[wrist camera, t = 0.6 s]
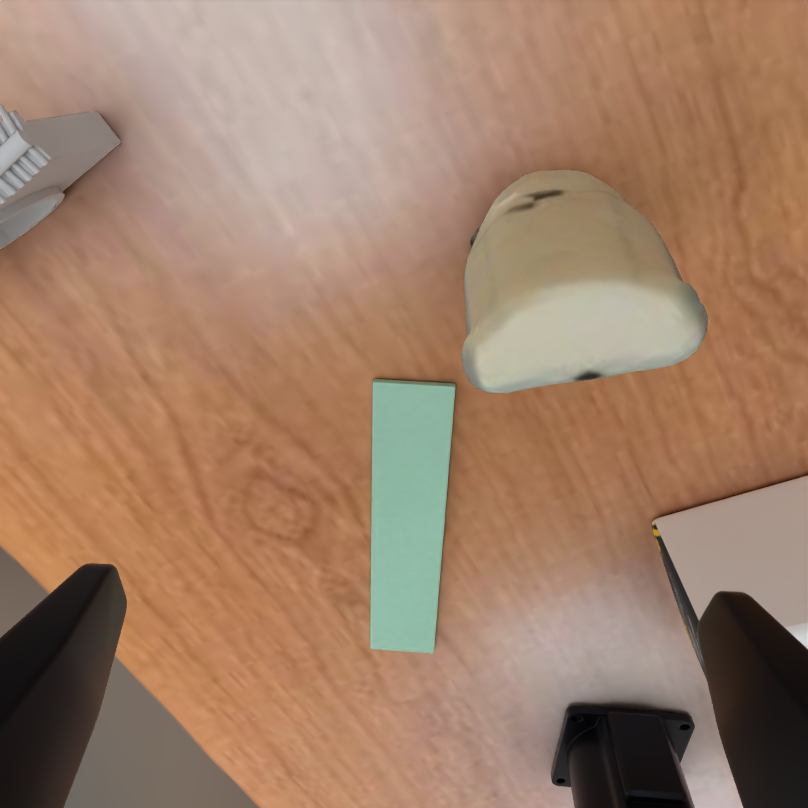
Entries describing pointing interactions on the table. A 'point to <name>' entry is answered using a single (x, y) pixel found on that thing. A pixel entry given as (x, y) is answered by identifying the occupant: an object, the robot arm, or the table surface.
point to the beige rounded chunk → (571, 288)
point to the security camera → (741, 554)
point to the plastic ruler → (408, 510)
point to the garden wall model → (44, 164)
